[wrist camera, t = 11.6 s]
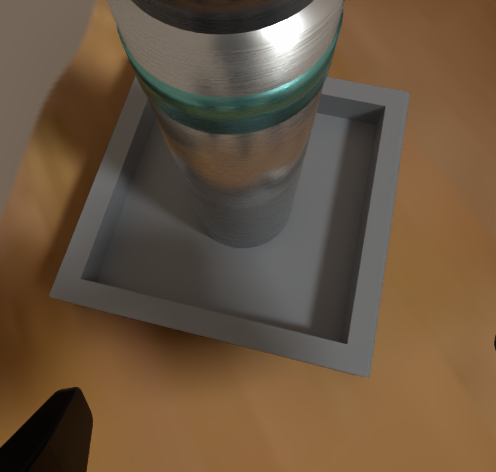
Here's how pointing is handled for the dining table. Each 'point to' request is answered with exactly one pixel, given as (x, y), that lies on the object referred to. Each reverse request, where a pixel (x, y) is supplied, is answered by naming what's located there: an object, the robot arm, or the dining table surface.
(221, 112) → the canister
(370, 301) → the tray
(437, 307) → the dining table surface
